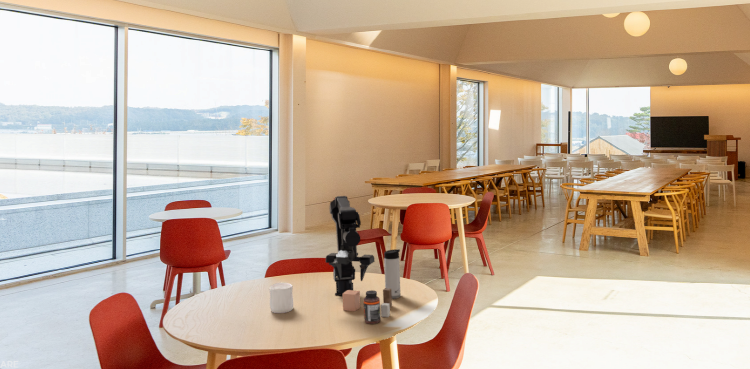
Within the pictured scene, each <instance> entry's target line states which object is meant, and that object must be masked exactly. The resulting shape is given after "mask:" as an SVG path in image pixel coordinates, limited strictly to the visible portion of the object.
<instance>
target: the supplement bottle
mask: <svg viewBox="0 0 750 369" xmlns="http://www.w3.org/2000/svg"><path fill="white" fill-rule="evenodd" d="M377 292H378V291H376V290H374V289H373V290H372V289H371V290H367V291H365V297H364V298H363V316H364V317H363V319H364V322H365V324H370V325H374V324H375V325H376V324H378V323H380V322H381V303H380V302H381V301H380V300H381V299H380V297H379V296H378V293H377Z"/></svg>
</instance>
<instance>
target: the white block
mask: <svg viewBox="0 0 750 369" xmlns="http://www.w3.org/2000/svg"><path fill="white" fill-rule="evenodd" d="M390 309H391V307H390V304H389V303H381V304H380V318H389V317H390V315H391V310H390Z"/></svg>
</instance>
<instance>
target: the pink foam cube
mask: <svg viewBox="0 0 750 369" xmlns="http://www.w3.org/2000/svg"><path fill="white" fill-rule="evenodd" d="M341 296H342V311H348V312H349V311H351V312H356V311H357V310H358V309H360V308H361V292H360V290H354V289H353V290H347V291H346V292H344V293H343V294H342V295H341Z"/></svg>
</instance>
